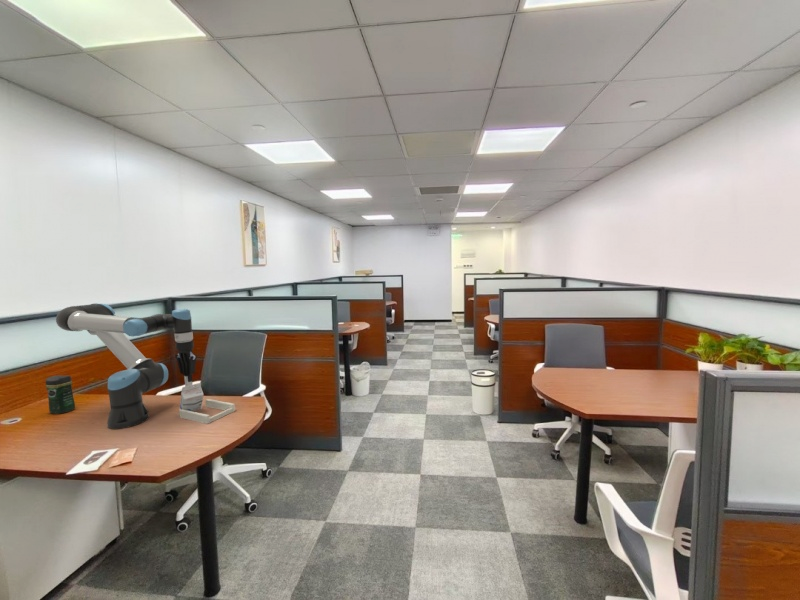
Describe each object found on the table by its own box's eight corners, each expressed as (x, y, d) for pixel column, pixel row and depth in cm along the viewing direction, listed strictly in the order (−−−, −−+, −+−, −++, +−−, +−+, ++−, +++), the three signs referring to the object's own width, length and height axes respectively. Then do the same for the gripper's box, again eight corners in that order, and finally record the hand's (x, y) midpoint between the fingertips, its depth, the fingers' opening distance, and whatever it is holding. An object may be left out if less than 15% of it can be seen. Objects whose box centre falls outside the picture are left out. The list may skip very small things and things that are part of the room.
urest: (179, 417, 161) (179, 410, 161) (208, 405, 175) (208, 398, 174) (207, 423, 153) (206, 416, 153) (235, 410, 167) (234, 403, 167)
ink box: (182, 414, 164) (184, 395, 157) (179, 406, 167) (181, 387, 160) (201, 409, 170) (204, 389, 163) (199, 401, 173) (201, 382, 166)
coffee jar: (79, 408, 177) (74, 373, 175) (61, 414, 169) (56, 378, 167) (63, 407, 178) (59, 373, 177) (46, 414, 171) (40, 378, 169)
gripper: (167, 341, 165) (173, 389, 167) (185, 343, 160) (190, 392, 162) (183, 338, 172) (187, 384, 174) (200, 340, 167) (205, 386, 169)
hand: (189, 387), depth 168 cm, fingers closed
